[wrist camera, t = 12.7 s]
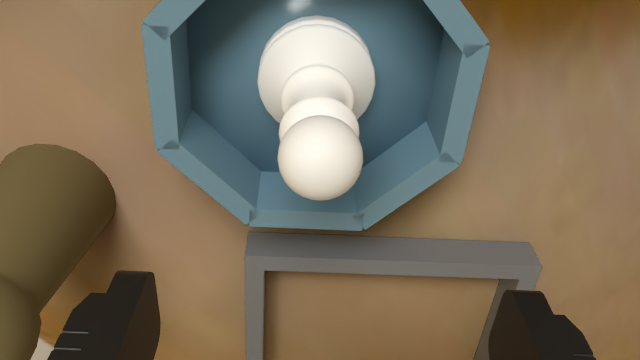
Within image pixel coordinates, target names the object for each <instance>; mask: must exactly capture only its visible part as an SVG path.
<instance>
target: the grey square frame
mask: <svg viewBox="0 0 640 360" xmlns="http://www.w3.org/2000/svg"><path fill="white" fill-rule="evenodd" d="M542 267H543V266H542V264H541V263H540V261H539V259H538V257H537V255H536V253H535V251H534V250H533V248H532V246H531V244H530V243H525V242H499V241H473V240H448V239H422V238H396V237H370V236H345V235H319V234H293V233H268V232H248V237H247V245H246V252H245V318H246V360H264V331H265V278H266V271H292V272H321V273H349V274H378V275H407V276H435V277H464V278H492V279H500V282H499V285H498V288H497V291H496V294H495V297H494V300H493V303H492V306H491V309H490V312H489V315H488V318H487V321H486V324H485V327H484V330H483V333H482V336H481V339H480V342H479V345H478V348H477V351H476V354H475V357H474V360H490V359H489V352H488V340H489V334H490V331H491V328H492V325H493V322H494V319H495V316H496V313H497V310H498V307H499V304H500V301H501V298H502V295H503V293H504V292H505V291H506V290H530V291H533V290H534V287H535V285H536V282H537V280H538V277H539V274H540V272H541V269H542Z"/></svg>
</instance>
